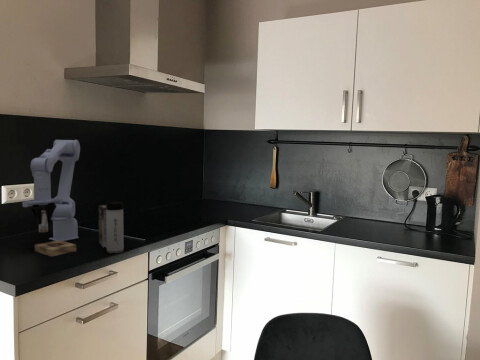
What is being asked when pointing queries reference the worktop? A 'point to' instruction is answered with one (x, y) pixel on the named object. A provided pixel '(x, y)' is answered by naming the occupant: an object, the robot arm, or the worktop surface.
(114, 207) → the travel mug
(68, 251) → the socket plate
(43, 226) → the metal peg
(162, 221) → the worktop surface
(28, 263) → the worktop surface
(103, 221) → the coffee box
